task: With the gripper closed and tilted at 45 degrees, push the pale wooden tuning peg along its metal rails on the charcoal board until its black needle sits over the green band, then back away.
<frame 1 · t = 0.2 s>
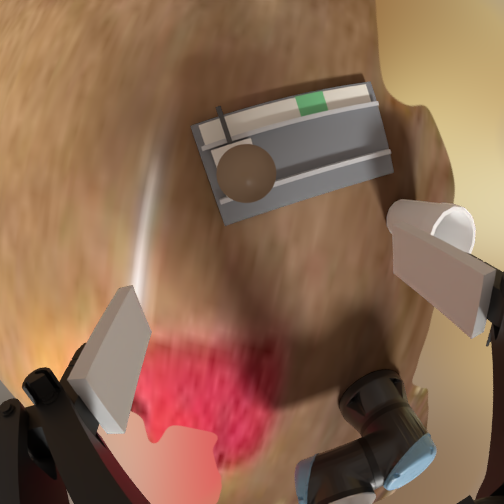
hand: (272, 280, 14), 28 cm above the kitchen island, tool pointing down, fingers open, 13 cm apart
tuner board: (306, 144, 39), on the kitchen island
foam cup: (401, 217, 44), on the kitchen island
tuning slider: (233, 147, 31), point 8 cm above the kitchen island, slide at 0.0 cm
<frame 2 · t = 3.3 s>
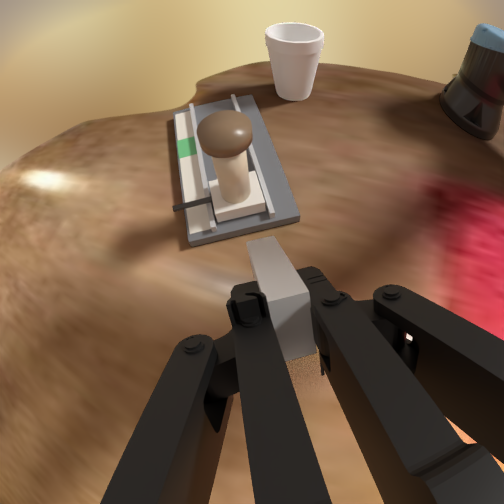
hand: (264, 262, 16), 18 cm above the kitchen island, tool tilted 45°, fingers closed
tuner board: (225, 154, 44), on the kitchen island
foam cup: (293, 92, 50), on the kitchen island
tuning slider: (209, 174, 32), point 8 cm above the kitchen island, slide at 0.0 cm
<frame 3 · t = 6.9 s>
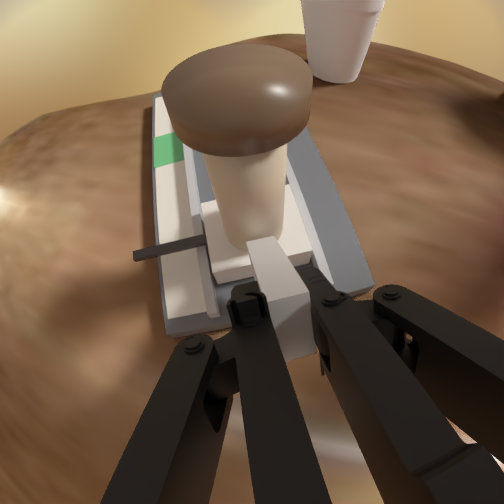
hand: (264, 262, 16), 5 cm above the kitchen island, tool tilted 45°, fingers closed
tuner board: (233, 161, 26), on the kitchen island
foam cup: (333, 71, 32), on the kitchen island
tuning slider: (199, 193, 15), point 8 cm above the kitchen island, slide at 1.0 cm, touching gripper
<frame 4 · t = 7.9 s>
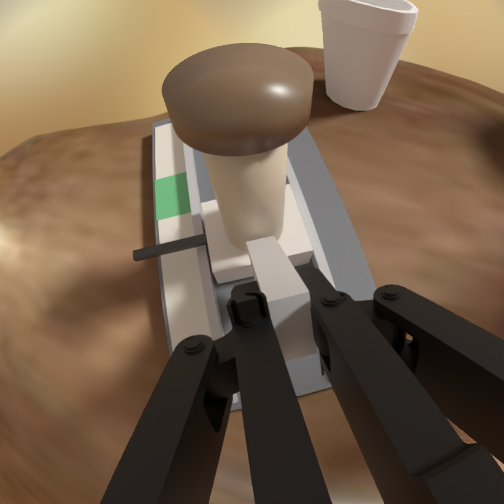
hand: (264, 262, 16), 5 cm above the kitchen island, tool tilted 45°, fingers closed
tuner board: (246, 211, 23), on the kitchen island
foam cup: (352, 95, 30), on the kitchen island
tuning slider: (199, 193, 15), point 8 cm above the kitchen island, slide at 6.5 cm, touching gripper
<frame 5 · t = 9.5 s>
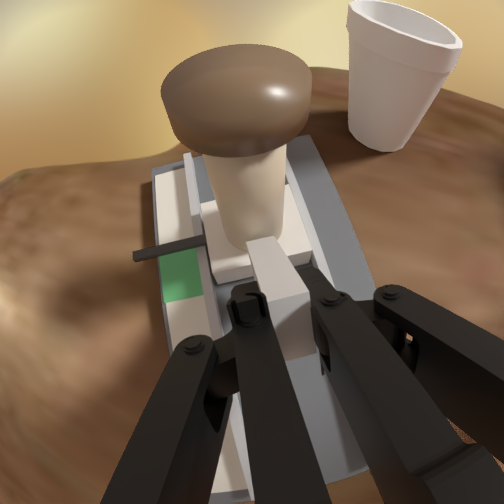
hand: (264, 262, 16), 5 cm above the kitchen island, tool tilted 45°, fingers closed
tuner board: (265, 288, 21), on the kitchen island
foam cup: (376, 131, 27), on the kitchen island
tuning slider: (198, 193, 15), point 8 cm above the kitchen island, slide at 12.9 cm, touching gripper
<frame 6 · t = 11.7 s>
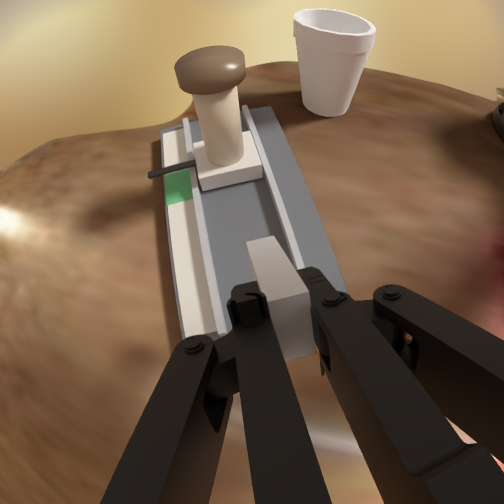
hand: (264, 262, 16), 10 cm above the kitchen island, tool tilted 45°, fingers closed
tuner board: (235, 198, 30), on the kitchen island
foam cup: (325, 104, 37), on the kitchen island
tuning slider: (191, 126, 24), point 8 cm above the kitchen island, slide at 12.9 cm
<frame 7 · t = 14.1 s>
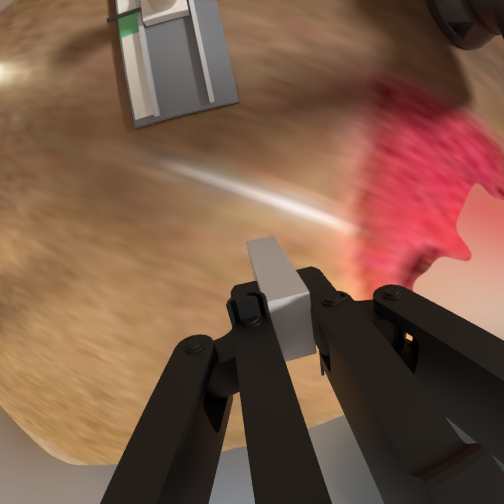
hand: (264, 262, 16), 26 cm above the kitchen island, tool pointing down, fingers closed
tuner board: (169, 27, 32), on the kitchen island
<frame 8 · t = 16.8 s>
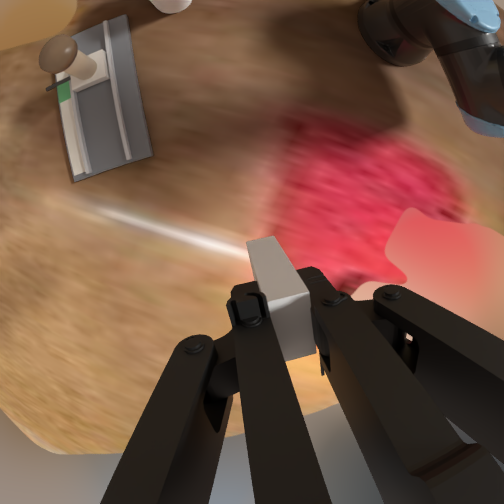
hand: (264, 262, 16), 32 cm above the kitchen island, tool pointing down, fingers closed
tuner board: (97, 89, 38), on the kitchen island
tuning slider: (60, 70, 30), point 8 cm above the kitchen island, slide at 12.9 cm
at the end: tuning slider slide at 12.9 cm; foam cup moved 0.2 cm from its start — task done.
